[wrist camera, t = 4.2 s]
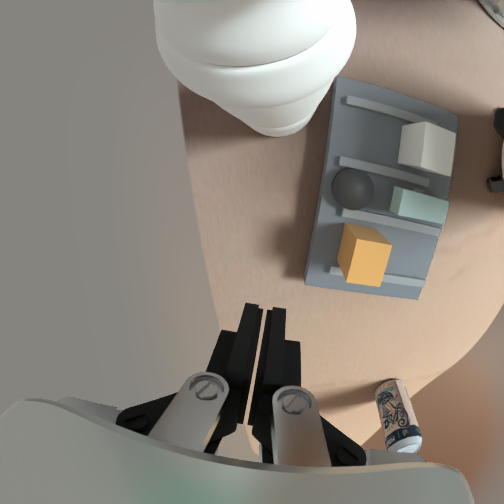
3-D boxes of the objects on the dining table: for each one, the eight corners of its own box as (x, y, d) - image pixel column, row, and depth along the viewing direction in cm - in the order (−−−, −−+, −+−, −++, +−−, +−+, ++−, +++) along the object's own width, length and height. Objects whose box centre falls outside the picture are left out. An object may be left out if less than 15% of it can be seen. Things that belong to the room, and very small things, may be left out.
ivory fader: (429, 134, 20) (456, 133, 15) (424, 171, 21) (450, 176, 16) (402, 125, 20) (426, 121, 15) (397, 163, 21) (420, 166, 17)
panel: (447, 117, 21) (464, 115, 17) (410, 289, 28) (421, 305, 24) (333, 82, 22) (339, 72, 18) (303, 274, 29) (305, 290, 26)
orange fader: (374, 228, 24) (392, 245, 19) (365, 263, 25) (379, 287, 20) (344, 222, 24) (356, 238, 19) (336, 259, 25) (345, 282, 21)
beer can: (387, 374, 33) (407, 441, 21) (409, 380, 33) (430, 442, 22) (367, 394, 34) (380, 460, 23) (389, 400, 34) (404, 461, 23)
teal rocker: (440, 198, 21) (449, 201, 20) (435, 220, 22) (444, 224, 21) (394, 186, 21) (403, 189, 19) (389, 210, 21) (398, 215, 20)
